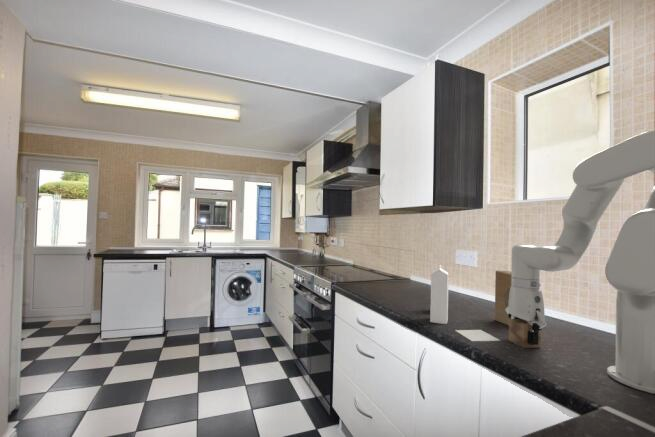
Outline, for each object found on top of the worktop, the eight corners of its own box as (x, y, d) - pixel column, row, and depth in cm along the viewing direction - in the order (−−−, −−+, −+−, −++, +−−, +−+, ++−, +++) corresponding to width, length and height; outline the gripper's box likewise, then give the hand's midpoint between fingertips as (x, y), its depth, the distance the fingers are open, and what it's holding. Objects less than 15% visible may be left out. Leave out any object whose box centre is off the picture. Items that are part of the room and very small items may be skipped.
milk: (430, 322, 115) (430, 265, 116) (432, 318, 121) (432, 263, 121) (446, 324, 112) (447, 266, 113) (448, 320, 118) (448, 264, 119)
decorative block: (529, 329, 110) (529, 275, 111) (515, 329, 109) (516, 275, 110) (506, 319, 121) (507, 270, 122) (494, 320, 120) (494, 270, 121)
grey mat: (500, 341, 97) (500, 340, 97) (472, 342, 96) (472, 341, 96) (480, 330, 107) (480, 329, 107) (454, 331, 106) (454, 330, 106)
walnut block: (540, 347, 92) (540, 324, 93) (523, 347, 92) (523, 324, 92) (525, 339, 98) (525, 318, 99) (508, 340, 98) (509, 318, 98)
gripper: (559, 289, 87) (559, 351, 87) (515, 278, 105) (514, 330, 104) (537, 289, 86) (536, 351, 86) (495, 278, 104) (494, 330, 103)
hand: (524, 339), depth 95 cm, fingers closed on walnut block, 6 cm apart
